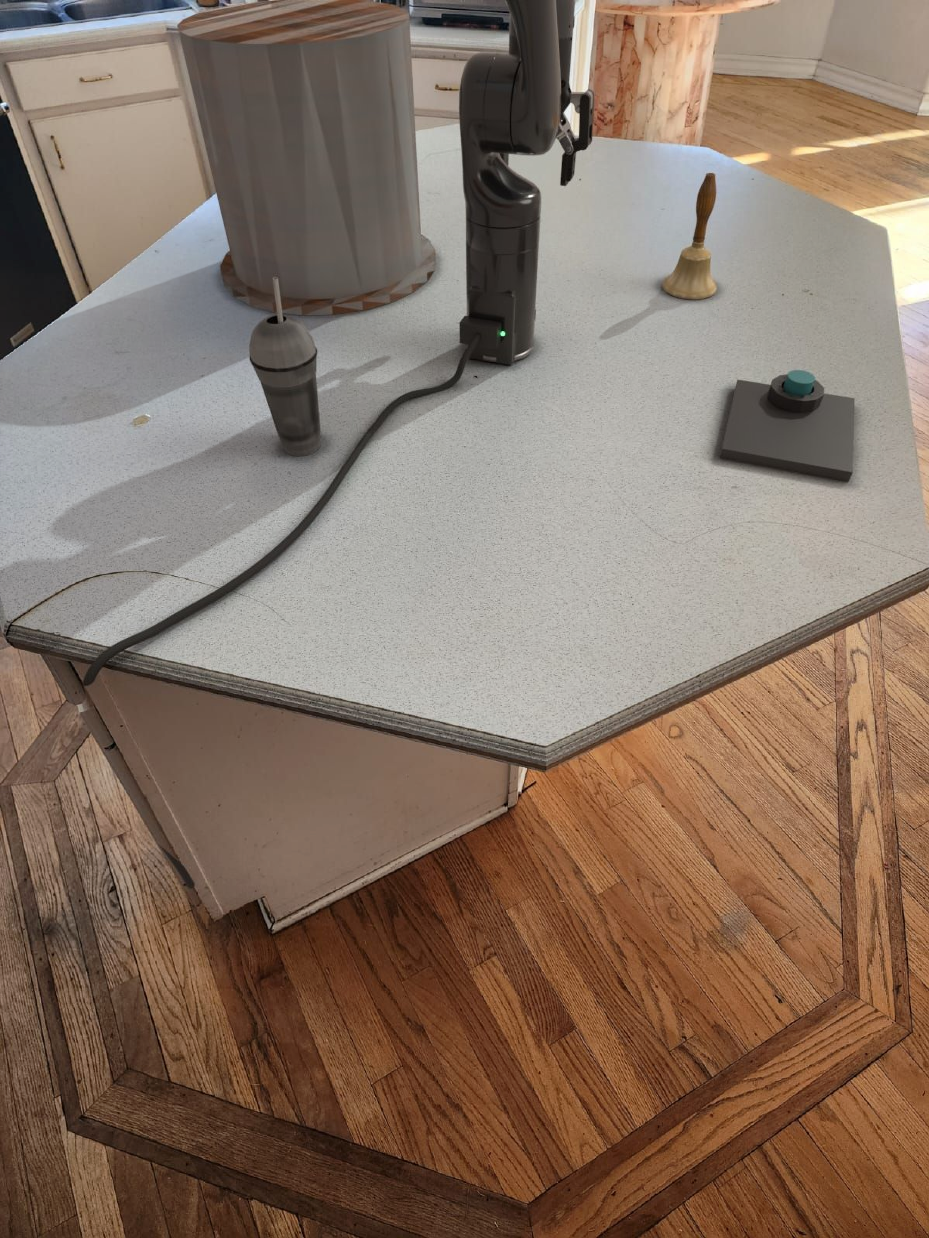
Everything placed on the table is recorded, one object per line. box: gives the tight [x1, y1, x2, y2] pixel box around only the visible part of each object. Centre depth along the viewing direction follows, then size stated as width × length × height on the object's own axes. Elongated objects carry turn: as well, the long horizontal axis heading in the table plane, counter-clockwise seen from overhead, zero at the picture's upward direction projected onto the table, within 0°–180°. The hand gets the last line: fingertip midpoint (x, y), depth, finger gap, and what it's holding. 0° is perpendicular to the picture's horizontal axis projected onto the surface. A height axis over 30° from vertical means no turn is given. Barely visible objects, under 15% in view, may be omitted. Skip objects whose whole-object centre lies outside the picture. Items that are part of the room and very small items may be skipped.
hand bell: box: [661, 172, 718, 301], centre depth 111 cm, size 8×8×16 cm
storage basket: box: [176, 0, 437, 316], centre depth 113 cm, size 35×35×32 cm
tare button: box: [783, 369, 816, 396], centre depth 91 cm, size 3×3×2 cm
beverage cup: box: [249, 277, 322, 457], centre depth 83 cm, size 7×7×20 cm
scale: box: [718, 373, 856, 483], centre depth 89 cm, size 16×14×3 cm
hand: (533, 181), depth 101 cm, fingers open, 8 cm apart
